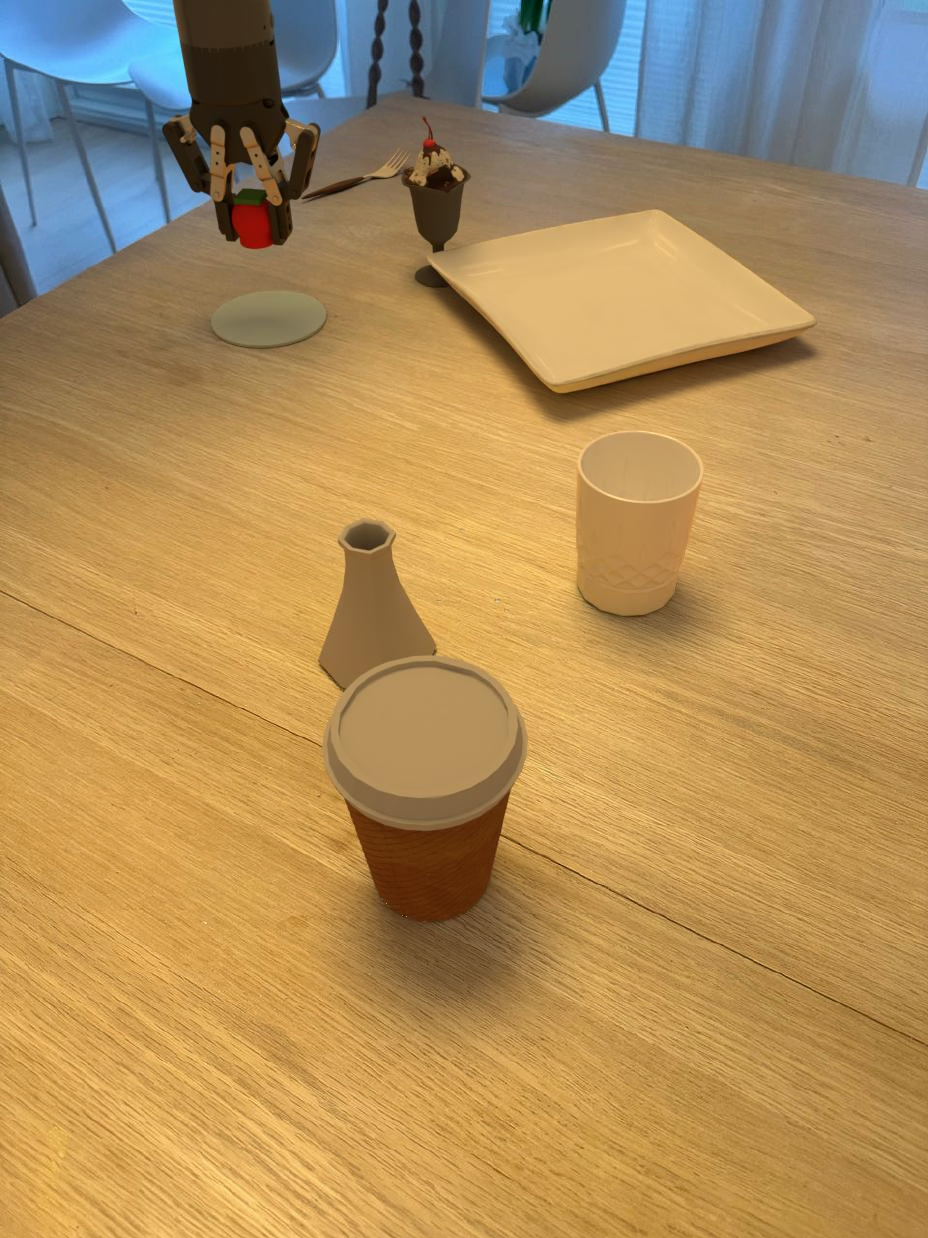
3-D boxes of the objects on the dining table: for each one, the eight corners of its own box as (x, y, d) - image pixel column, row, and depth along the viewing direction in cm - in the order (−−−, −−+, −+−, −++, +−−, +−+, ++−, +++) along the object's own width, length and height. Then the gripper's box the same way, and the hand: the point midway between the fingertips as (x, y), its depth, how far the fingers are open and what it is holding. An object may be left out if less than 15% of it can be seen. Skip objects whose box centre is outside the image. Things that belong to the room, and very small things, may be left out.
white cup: (681, 629, 69) (703, 508, 62) (562, 616, 70) (571, 495, 64) (684, 554, 75) (704, 435, 68) (573, 542, 76) (583, 424, 69)
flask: (298, 666, 67) (278, 545, 60) (369, 603, 72) (357, 483, 65) (387, 714, 64) (377, 592, 57) (456, 645, 69) (453, 524, 62)
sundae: (424, 256, 111) (418, 105, 100) (482, 268, 109) (482, 115, 98) (394, 282, 106) (385, 127, 96) (453, 295, 104) (450, 138, 94)
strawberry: (229, 249, 95) (221, 201, 92) (244, 231, 97) (237, 183, 94) (271, 252, 94) (264, 204, 91) (286, 234, 97) (279, 186, 94)
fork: (295, 199, 122) (293, 182, 121) (399, 163, 130) (399, 147, 129) (308, 206, 121) (306, 188, 119) (413, 169, 129) (412, 152, 127)
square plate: (549, 423, 87) (551, 382, 85) (423, 287, 106) (421, 249, 103) (814, 353, 95) (824, 313, 93) (654, 237, 114) (659, 201, 111)
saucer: (193, 342, 98) (193, 339, 98) (235, 288, 106) (235, 286, 106) (306, 352, 96) (306, 350, 96) (340, 298, 104) (340, 295, 104)
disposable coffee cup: (335, 953, 53) (309, 808, 44) (349, 798, 60) (329, 648, 51) (525, 951, 53) (534, 806, 44) (517, 797, 60) (524, 647, 51)
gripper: (122, 39, 82) (168, 252, 94) (296, 47, 80) (320, 264, 92) (161, 14, 88) (200, 218, 99) (325, 20, 85) (344, 228, 97)
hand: (257, 239), depth 96 cm, fingers closed on strawberry, 4 cm apart
